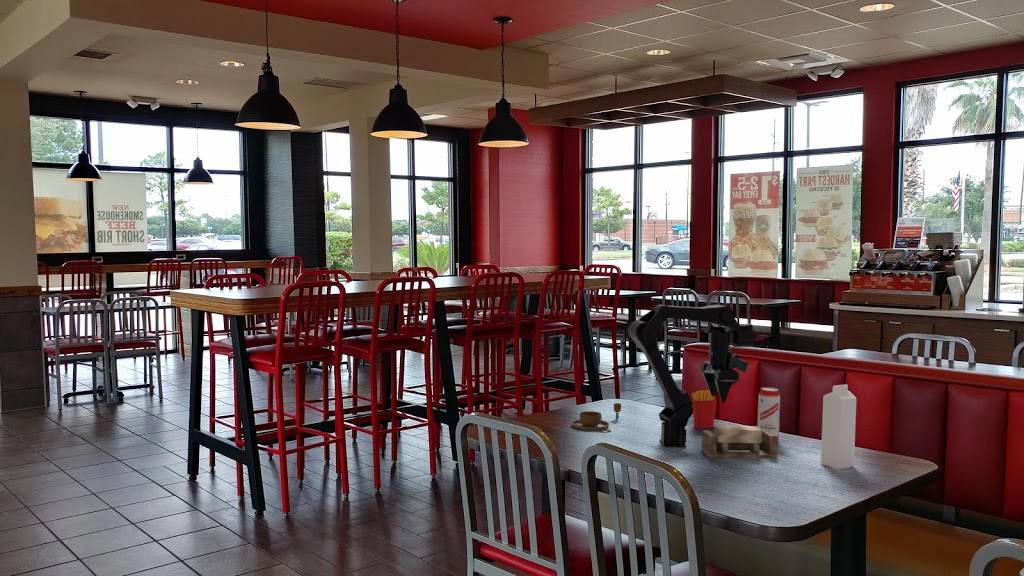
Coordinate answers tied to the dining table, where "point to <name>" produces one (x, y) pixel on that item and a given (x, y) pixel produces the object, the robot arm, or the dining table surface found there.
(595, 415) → the place setting
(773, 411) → the beer can
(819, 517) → the dining table surface
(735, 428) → the board
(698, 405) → the french fries
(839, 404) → the milk
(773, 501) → the dining table surface
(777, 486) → the dining table surface
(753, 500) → the dining table surface
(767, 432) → the frame
